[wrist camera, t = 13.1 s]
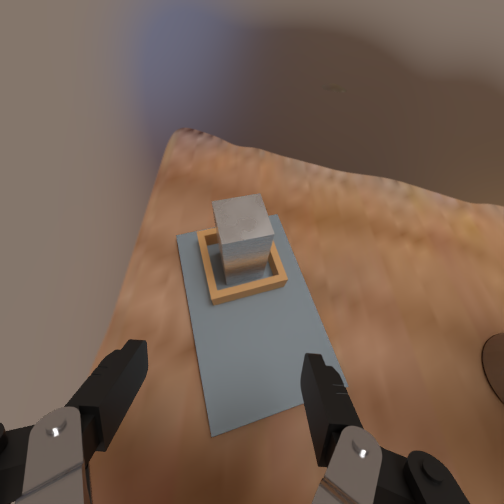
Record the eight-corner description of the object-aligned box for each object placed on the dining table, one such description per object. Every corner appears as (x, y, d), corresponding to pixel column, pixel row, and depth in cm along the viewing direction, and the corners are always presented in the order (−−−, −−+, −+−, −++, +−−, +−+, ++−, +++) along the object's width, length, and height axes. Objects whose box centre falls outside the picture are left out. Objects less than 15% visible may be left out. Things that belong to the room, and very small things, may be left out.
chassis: (276, 218, 34) (280, 202, 31) (344, 386, 25) (359, 388, 22) (177, 239, 31) (171, 224, 28) (212, 434, 22) (208, 445, 19)
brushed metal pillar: (253, 245, 31) (260, 193, 22) (262, 277, 29) (274, 234, 20) (219, 252, 30) (211, 201, 21) (226, 285, 28) (221, 244, 19)
